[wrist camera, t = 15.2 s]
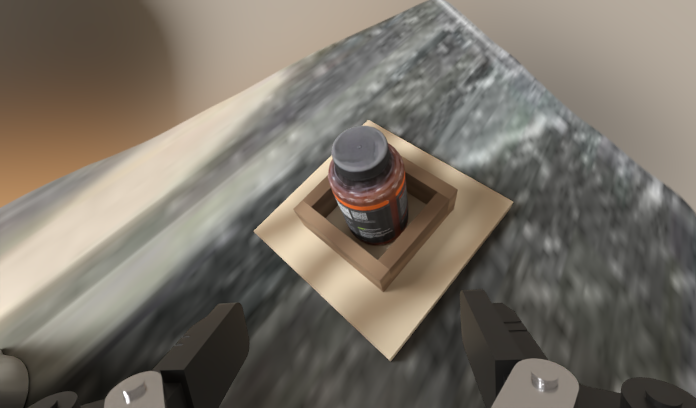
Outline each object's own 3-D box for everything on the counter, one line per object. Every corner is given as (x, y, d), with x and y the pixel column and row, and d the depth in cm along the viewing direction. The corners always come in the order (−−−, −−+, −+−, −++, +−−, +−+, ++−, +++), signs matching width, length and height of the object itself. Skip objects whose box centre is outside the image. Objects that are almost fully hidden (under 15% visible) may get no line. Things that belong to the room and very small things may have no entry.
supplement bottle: (397, 185, 34) (389, 103, 24) (417, 236, 31) (417, 166, 21) (341, 202, 34) (311, 128, 25) (356, 255, 31) (327, 194, 22)
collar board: (259, 236, 36) (237, 215, 32) (369, 128, 40) (364, 97, 36) (390, 361, 28) (385, 356, 24) (509, 209, 33) (523, 181, 28)
